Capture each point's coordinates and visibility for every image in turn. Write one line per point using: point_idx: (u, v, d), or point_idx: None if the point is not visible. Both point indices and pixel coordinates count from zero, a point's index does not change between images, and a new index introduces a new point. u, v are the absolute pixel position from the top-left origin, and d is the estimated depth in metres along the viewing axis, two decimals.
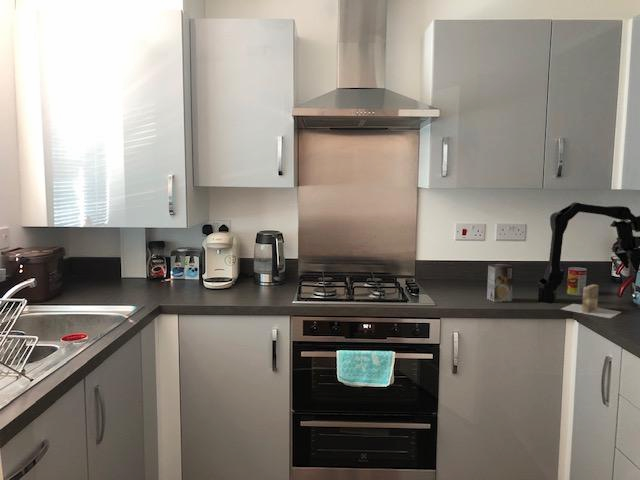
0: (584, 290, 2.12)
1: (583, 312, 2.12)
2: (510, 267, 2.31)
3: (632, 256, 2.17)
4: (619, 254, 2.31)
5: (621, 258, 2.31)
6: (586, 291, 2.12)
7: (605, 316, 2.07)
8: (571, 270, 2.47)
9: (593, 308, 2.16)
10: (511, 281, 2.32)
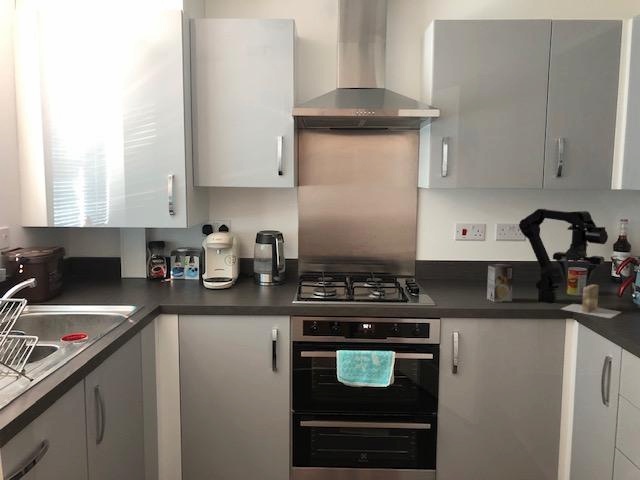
0: (584, 290, 2.12)
1: (583, 312, 2.12)
2: (510, 267, 2.31)
3: None
4: None
5: None
6: (586, 291, 2.12)
7: (605, 316, 2.07)
8: (571, 270, 2.47)
9: (593, 308, 2.16)
10: (511, 281, 2.32)
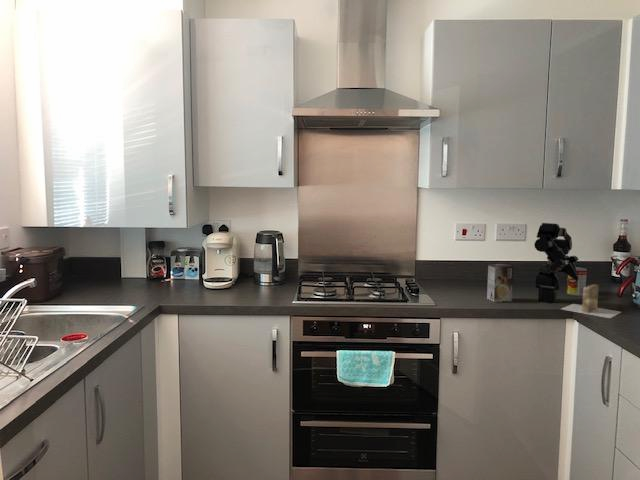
0: (584, 290, 2.12)
1: (583, 312, 2.12)
2: (510, 267, 2.31)
3: None
4: None
5: None
6: (586, 291, 2.12)
7: (605, 316, 2.07)
8: None
9: (593, 308, 2.16)
10: (511, 281, 2.32)
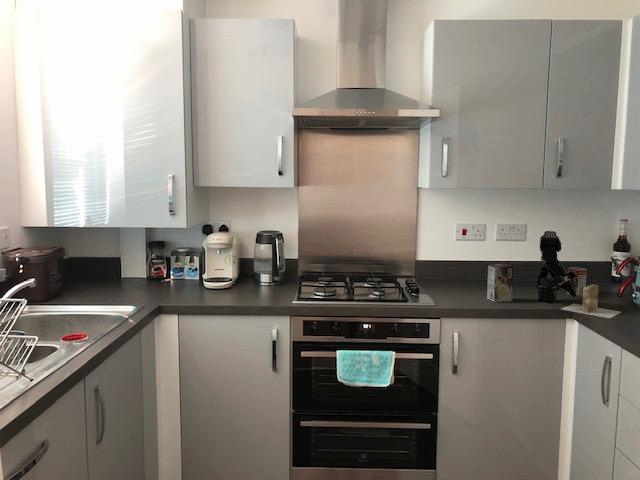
0: (584, 290, 2.12)
1: (583, 312, 2.12)
2: (510, 267, 2.31)
3: None
4: None
5: None
6: (586, 291, 2.12)
7: (605, 316, 2.07)
8: (571, 270, 2.47)
9: (593, 308, 2.16)
10: (511, 281, 2.32)
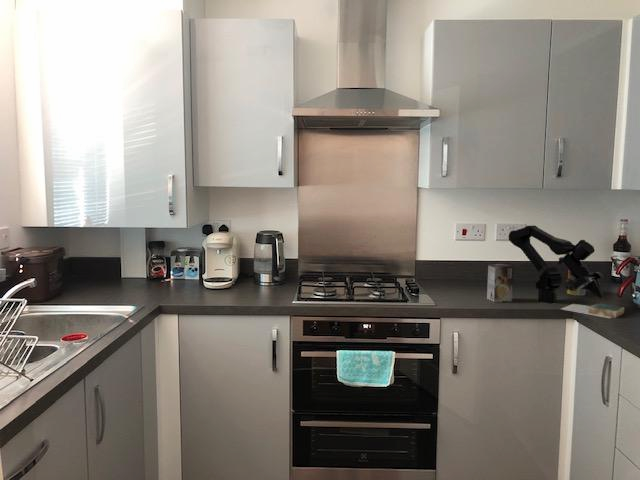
0: (612, 312, 2.05)
1: (583, 312, 2.12)
2: (510, 267, 2.31)
3: None
4: None
5: None
6: (612, 314, 2.05)
7: (605, 316, 2.07)
8: None
9: None
10: (511, 281, 2.32)
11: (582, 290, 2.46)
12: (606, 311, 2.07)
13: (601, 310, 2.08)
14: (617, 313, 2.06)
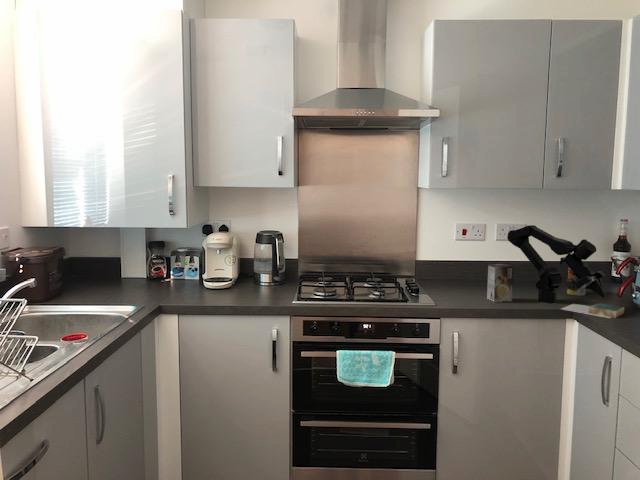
0: (612, 312, 2.05)
1: (583, 312, 2.12)
2: (510, 267, 2.31)
3: None
4: None
5: None
6: (612, 314, 2.05)
7: (605, 316, 2.07)
8: (571, 270, 2.47)
9: None
10: (511, 281, 2.32)
11: (582, 290, 2.46)
12: (606, 311, 2.07)
13: (601, 310, 2.08)
14: (617, 313, 2.06)
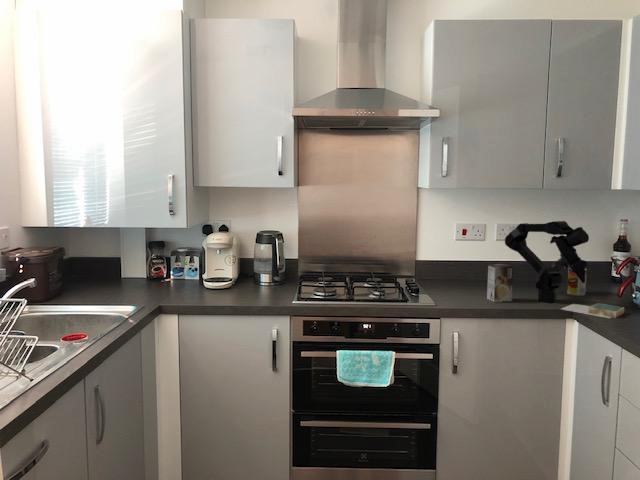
0: (612, 312, 2.05)
1: (583, 312, 2.12)
2: (510, 267, 2.31)
3: None
4: None
5: None
6: (612, 314, 2.05)
7: (605, 316, 2.07)
8: None
9: None
10: (511, 281, 2.32)
11: (582, 290, 2.46)
12: (606, 311, 2.07)
13: (601, 310, 2.08)
14: (617, 313, 2.06)
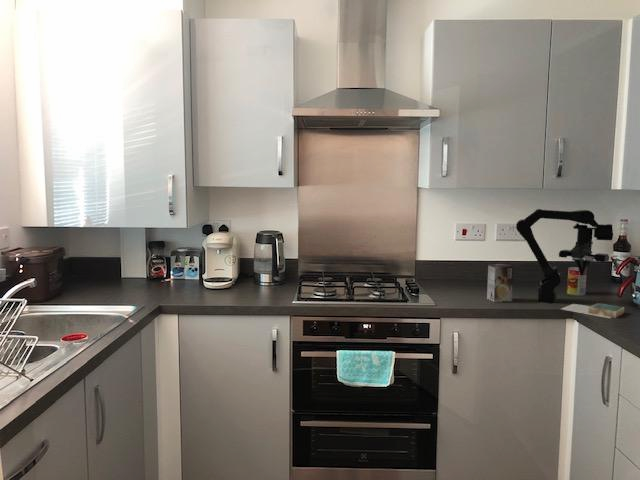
0: (612, 312, 2.05)
1: (583, 312, 2.12)
2: (510, 267, 2.31)
3: None
4: None
5: None
6: (612, 314, 2.05)
7: (605, 316, 2.07)
8: (571, 270, 2.47)
9: None
10: (511, 281, 2.32)
11: (582, 290, 2.46)
12: (606, 311, 2.07)
13: (601, 310, 2.08)
14: (617, 313, 2.06)
